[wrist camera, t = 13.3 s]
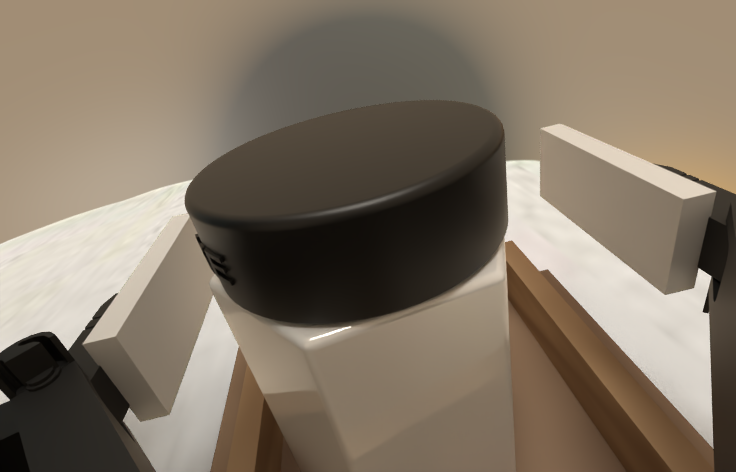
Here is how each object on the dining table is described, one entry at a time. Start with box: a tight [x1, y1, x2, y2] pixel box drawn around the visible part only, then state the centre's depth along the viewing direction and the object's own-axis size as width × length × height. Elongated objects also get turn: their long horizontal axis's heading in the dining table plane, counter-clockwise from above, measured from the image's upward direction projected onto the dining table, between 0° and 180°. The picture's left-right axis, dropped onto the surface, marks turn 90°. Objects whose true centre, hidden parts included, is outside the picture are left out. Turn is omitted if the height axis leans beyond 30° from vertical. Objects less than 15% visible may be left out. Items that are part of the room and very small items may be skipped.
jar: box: [185, 100, 516, 472], centre depth 13 cm, size 9×8×12 cm
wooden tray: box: [210, 241, 714, 472], centre depth 16 cm, size 18×15×4 cm
